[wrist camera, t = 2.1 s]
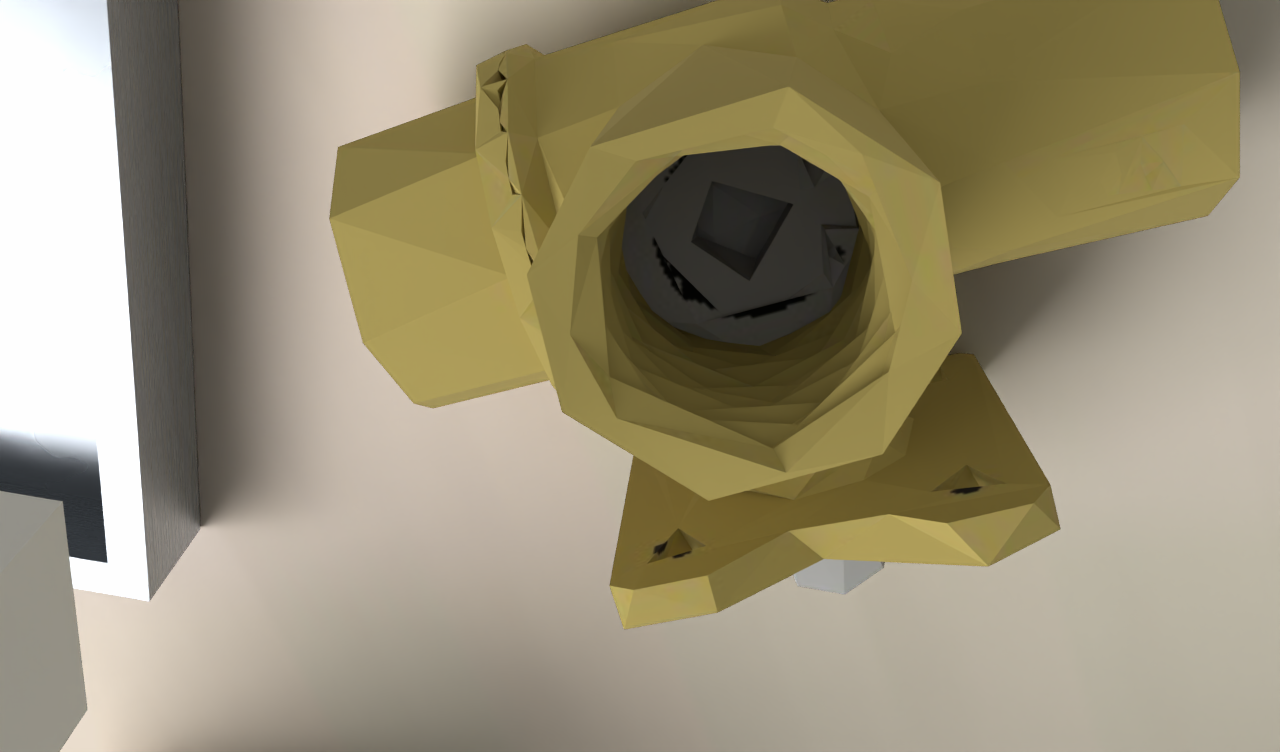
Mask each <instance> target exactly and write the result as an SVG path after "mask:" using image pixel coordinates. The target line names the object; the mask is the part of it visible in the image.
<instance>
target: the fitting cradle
mask: <svg viewBox="0 0 1280 752" xmlns="http://www.w3.org/2000/svg"><path fill="white" fill-rule="evenodd" d="M0 491H4V492H10V493H16V494H21V495H27V496H33V497H39V498H45V499H51V500H57V501H63V509H64V517H65V525H66V534H67V542H68V551H69V559H70V567H71V576H72V584H73V588H76V589H82V590H87V591H93V592H99V593H104V594H110V595H116V596H122V597H127V598H133V599H139V600H145V601H150V600H151V599H152V597H153V596H154V594H155V593H156V591H157V590H158V589H159V587H160V586H161V584H162V583H163V581H164V580H165V579H166V577H167V576H168V574H169V573H170V571H171V570H172V569H173V567H174V566H175V564H176V563H177V561H178V560H179V559H180V557H181V556H182V554H183V553H184V551H185V550H186V548H187V547H188V546H189V544H190V543H191V541H192V540H193V538H194V537H195V536H196V534H197V533H198V531H199V530H200V511H199V488H198V465H197V442H196V418H195V395H194V372H193V349H192V325H191V302H190V279H189V256H188V233H187V209H186V186H185V163H184V140H183V116H182V93H181V70H180V47H179V23H178V0H0Z"/></svg>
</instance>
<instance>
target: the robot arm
mask: <svg viewBox="0 0 1280 752" xmlns="http://www.w3.org/2000/svg"><path fill="white" fill-rule="evenodd" d="M86 711H87V701H86V693H85V685H84V676H83V668H82V660H81V651H80V643H79V634H78V626H77V618H76V609H75V601H74V593H73V584H72V576H71V567H70V559H69V551H68V542H67V534H66V525H65V517H64V509H63V501H57V500H51V499H45V498H39V497H33V496H27V495H21V494H16V493H10V492H4V491H0V752H60V750H61V749H62V747H63V746H64V744H65V743H66V741H67V740H68V738H69V737H70V735H71V734H72V732H73V730H74V729H75V727H76V726H77V724H78V723H79V721H80V720H81V718H82V717H83V715H84V714H85V712H86Z"/></svg>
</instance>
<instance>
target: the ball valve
mask: <svg viewBox="0 0 1280 752" xmlns="http://www.w3.org/2000/svg"><path fill="white" fill-rule="evenodd" d="M1239 178H1240V71H1239V68H1238V64H1237V61H1236V57H1235V54H1234V51H1233V47H1232V44H1231V40H1230V37H1229V34H1228V30H1227V27H1226V23H1225V20H1224V17H1223V13H1222V10H1221V6H1220V3H1219V0H836V1H833V2H830V3H826V2H823V1H820V0H717V1H714V2H711V3H707V4H704V5H701V6H698V7H695V8H692V9H688V10H685V11H682V12H679V13H676V14H673V15H670V16H666V17H663V18H660V19H657V20H654V21H651V22H648V23H644V24H641V25H638V26H635V27H632V28H629V29H626V30H622V31H619V32H616V33H613V34H610V35H607V36H604V37H600V38H597V39H594V40H591V41H588V42H585V43H582V44H578V45H575V46H572V47H569V48H566V49H563V50H559V51H556V52H553V53H550V54H547V55H543V54H541V53H540V52H538V51H537V50H535V49H533V48H532V47H530V46H529V45H527V44H525V45H522V46H519V47H516V48H513V49H509V50H506V51H504V52H502V53H500V54H498V55H496V56H494V57H492V58H490V59H488V60H486V61H484V62H482V63H480V64H478V65H476V98H473V99H471V100H468V101H465V102H462V103H460V104H457V105H454V106H451V107H448V108H446V109H443V110H440V111H437V112H434V113H432V114H429V115H426V116H423V117H421V118H418V119H415V120H412V121H409V122H407V123H404V124H401V125H398V126H396V127H393V128H390V129H387V130H384V131H382V132H379V133H376V134H373V135H370V136H368V137H365V138H362V139H359V140H357V141H354V142H351V143H348V144H345V145H343V146H340V147H338V151H337V160H336V168H335V176H334V184H333V193H332V201H331V209H330V217H329V219H330V223H331V227H332V230H333V234H334V238H335V241H336V245H337V249H338V252H339V256H340V260H341V263H342V267H343V271H344V274H345V278H346V282H347V286H348V289H349V293H350V297H351V300H352V304H353V308H354V311H355V315H356V319H357V322H358V326H359V330H360V333H361V337H362V341H363V343H364V345H365V346H366V347H367V348H368V349H369V351H370V352H371V353H372V354H373V355H374V357H375V358H376V359H377V360H378V361H379V363H380V364H381V365H382V366H383V367H384V369H385V370H386V371H387V372H388V373H389V374H390V376H391V377H392V378H393V379H394V380H395V382H396V383H397V384H398V385H399V386H400V388H401V389H402V390H403V391H404V392H405V394H406V395H407V396H408V397H409V398H410V400H411V401H412V402H413V403H414V404H418V405H422V406H426V407H430V408H436V407H440V406H445V405H449V404H453V403H457V402H461V401H465V400H469V399H473V398H477V397H482V396H486V395H490V394H494V393H498V392H502V391H506V390H510V389H514V388H519V387H523V386H527V385H531V384H535V383H539V382H543V381H547V380H550V382H551V384H552V386H553V387H554V388H555V389H556V391H557V394H558V398H559V402H560V406H561V410H562V412H563V413H565V414H566V415H568V416H569V417H571V418H573V419H574V420H576V421H578V422H579V423H581V424H583V425H584V426H586V427H588V428H589V429H591V430H593V431H594V432H596V433H598V434H599V435H601V436H603V437H604V438H606V439H607V440H609V441H611V442H612V443H614V444H616V445H617V446H619V447H621V448H622V449H624V450H626V451H627V452H629V453H631V454H632V455H634V456H633V461H632V467H631V472H630V477H629V483H628V488H627V494H626V499H625V505H624V510H623V515H622V521H621V526H620V532H619V537H618V543H617V548H616V553H615V559H614V564H613V570H612V575H611V580H610V589H611V592H612V595H613V598H614V601H615V604H616V607H617V610H618V613H619V616H620V619H621V622H622V625H623V628H624V629H630V628H635V627H641V626H646V625H652V624H657V623H663V622H668V621H674V620H679V619H685V618H690V617H696V616H701V615H707V614H712V613H718V612H720V611H722V610H724V609H726V608H728V607H730V606H732V605H734V604H736V603H738V602H740V601H742V600H744V599H746V598H748V597H750V596H752V595H754V594H756V593H758V592H759V591H761V590H763V589H765V588H767V587H769V586H771V585H773V584H775V583H777V582H779V581H781V580H783V579H785V578H787V577H789V576H791V575H793V576H794V578H795V581H796V583H797V586H800V587H806V588H811V589H817V590H823V591H828V592H834V593H839V594H846V593H848V592H849V591H850V590H852V589H853V588H855V587H856V586H858V585H859V584H861V583H862V582H864V581H865V580H866V579H868V578H869V577H871V576H872V575H874V574H875V573H877V572H878V571H880V570H881V569H882V568H884V563H885V562H900V563H923V564H945V565H968V566H990V565H992V564H994V563H996V562H998V561H1000V560H1002V559H1004V558H1006V557H1008V556H1010V555H1011V554H1013V553H1015V552H1017V551H1019V550H1021V549H1023V548H1025V547H1027V546H1029V545H1031V544H1033V543H1035V542H1037V541H1039V540H1041V539H1042V538H1044V537H1046V536H1048V535H1050V534H1052V533H1054V532H1056V531H1058V530H1060V525H1059V520H1058V516H1057V512H1056V507H1055V503H1054V499H1053V494H1052V490H1051V486H1050V483H1049V482H1048V480H1047V478H1046V477H1045V475H1044V473H1043V471H1042V470H1041V468H1040V466H1039V465H1038V463H1037V461H1036V460H1035V458H1034V456H1033V454H1032V453H1031V451H1030V449H1029V448H1028V446H1027V444H1026V443H1025V441H1024V439H1023V437H1022V436H1021V434H1020V432H1019V431H1018V429H1017V427H1016V426H1015V424H1014V422H1013V420H1012V419H1011V417H1010V415H1009V414H1008V412H1007V410H1006V409H1005V407H1004V405H1003V403H1002V402H1001V400H1000V398H999V397H998V395H997V393H996V391H995V390H994V388H993V386H992V385H991V383H990V381H989V380H988V378H987V376H986V374H985V373H984V371H983V369H982V368H981V366H980V364H979V363H978V361H977V359H976V357H975V356H974V354H963V353H957V354H952V355H948V354H949V352H950V351H951V349H952V347H953V346H954V344H955V343H956V341H957V340H958V338H959V337H960V335H961V334H962V331H961V324H960V317H959V310H958V303H957V296H956V289H955V282H954V274H958V273H962V272H966V271H970V270H974V269H977V268H981V267H985V266H989V265H993V264H997V263H1001V262H1005V261H1010V260H1014V259H1019V258H1023V257H1028V256H1032V255H1036V254H1041V253H1045V252H1050V251H1054V250H1058V249H1063V248H1067V247H1072V246H1076V245H1081V244H1085V243H1089V242H1094V241H1098V240H1103V239H1107V238H1112V237H1116V236H1120V235H1125V234H1129V233H1134V232H1138V231H1143V230H1147V229H1151V228H1156V227H1160V226H1165V225H1169V224H1174V223H1178V222H1182V221H1187V220H1191V219H1196V218H1200V217H1204V216H1208V215H1209V214H1210V212H1211V211H1212V210H1213V209H1214V208H1215V206H1216V205H1217V204H1218V203H1219V202H1220V200H1221V199H1222V198H1223V197H1224V196H1225V194H1226V193H1227V192H1228V191H1229V190H1230V188H1231V187H1232V186H1233V185H1234V184H1235V182H1236V181H1237V180H1238V179H1239ZM947 355H948V356H947Z"/></svg>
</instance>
